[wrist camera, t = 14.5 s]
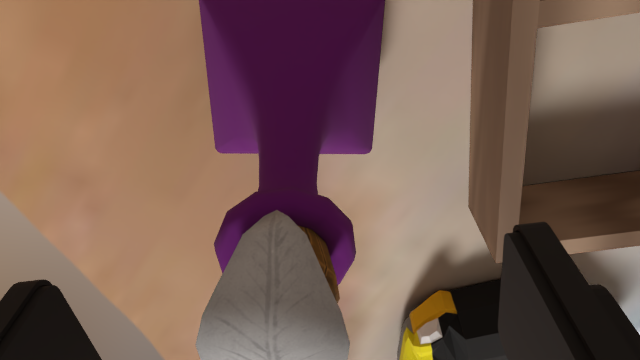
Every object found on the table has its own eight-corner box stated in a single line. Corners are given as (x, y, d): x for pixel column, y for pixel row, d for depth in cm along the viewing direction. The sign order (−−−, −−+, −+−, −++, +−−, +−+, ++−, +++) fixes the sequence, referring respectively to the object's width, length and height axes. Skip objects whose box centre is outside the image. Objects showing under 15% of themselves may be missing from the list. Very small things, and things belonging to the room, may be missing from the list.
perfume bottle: (365, 123, 26) (445, 476, 11) (225, 122, 26) (108, 480, 11) (376, -25, 22) (529, 205, 7) (211, -28, 22) (-10, 203, 7)
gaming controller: (592, 344, 37) (594, 248, 31) (634, 412, 32) (644, 314, 27) (399, 382, 39) (370, 298, 33) (411, 452, 34) (381, 367, 29)
